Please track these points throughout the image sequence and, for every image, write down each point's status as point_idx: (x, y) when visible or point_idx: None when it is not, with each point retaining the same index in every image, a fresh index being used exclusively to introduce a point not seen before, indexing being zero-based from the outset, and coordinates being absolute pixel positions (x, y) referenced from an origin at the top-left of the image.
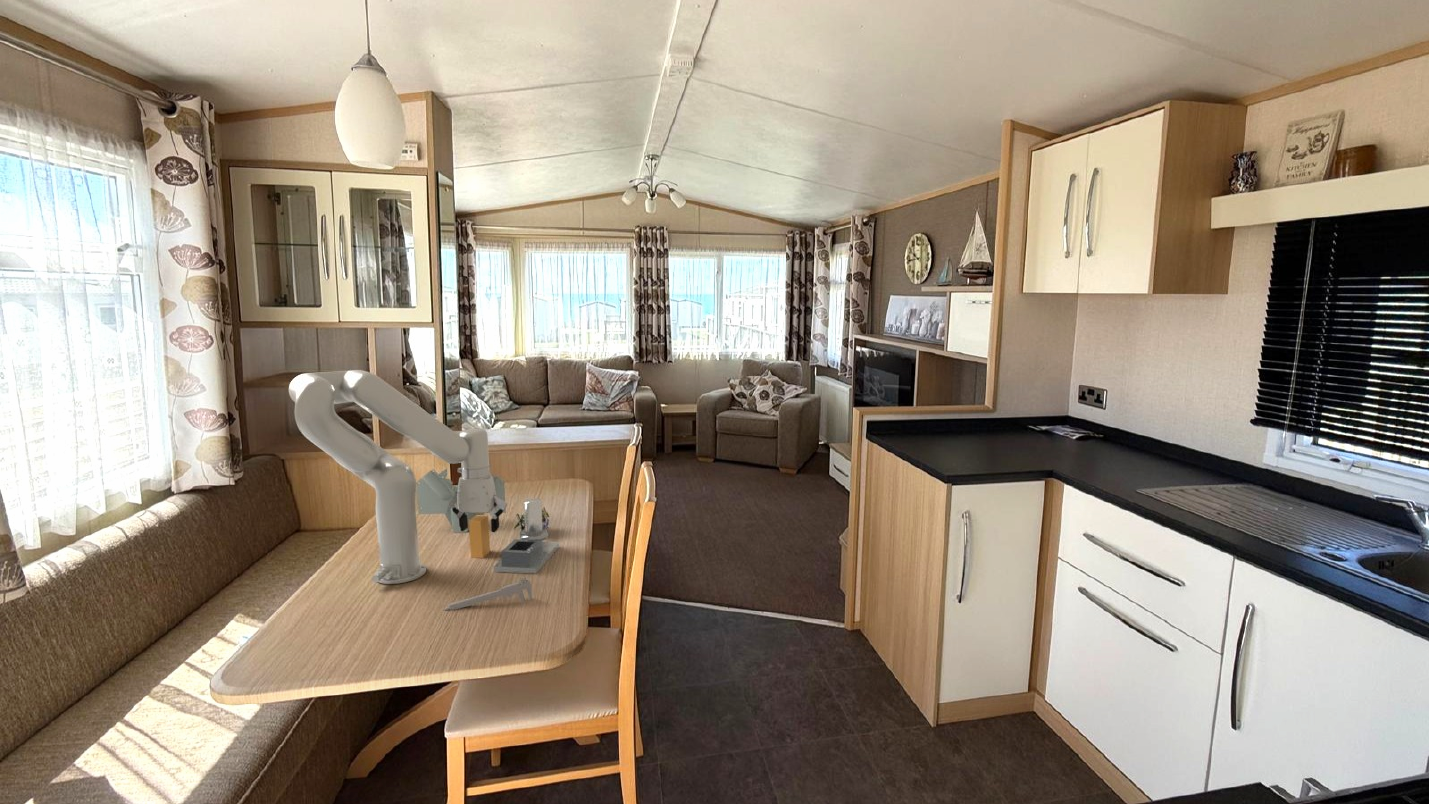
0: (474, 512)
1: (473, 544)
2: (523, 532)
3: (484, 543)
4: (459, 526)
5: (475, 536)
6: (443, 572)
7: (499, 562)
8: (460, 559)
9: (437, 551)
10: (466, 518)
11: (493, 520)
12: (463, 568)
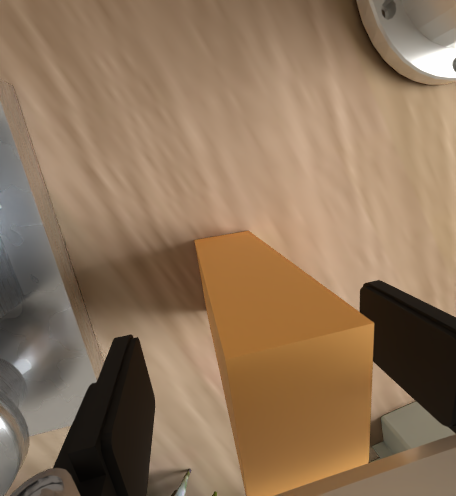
0: (389, 464)
1: (250, 249)
2: (5, 454)
3: (204, 288)
4: (421, 426)
5: (248, 268)
6: (275, 28)
7: (2, 145)
8: (280, 198)
9: (405, 247)
10: (425, 394)
11: (79, 442)
12: (207, 100)
